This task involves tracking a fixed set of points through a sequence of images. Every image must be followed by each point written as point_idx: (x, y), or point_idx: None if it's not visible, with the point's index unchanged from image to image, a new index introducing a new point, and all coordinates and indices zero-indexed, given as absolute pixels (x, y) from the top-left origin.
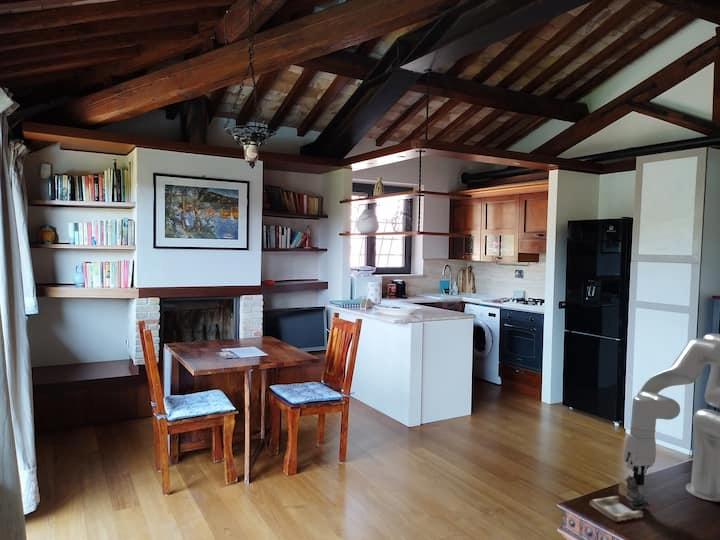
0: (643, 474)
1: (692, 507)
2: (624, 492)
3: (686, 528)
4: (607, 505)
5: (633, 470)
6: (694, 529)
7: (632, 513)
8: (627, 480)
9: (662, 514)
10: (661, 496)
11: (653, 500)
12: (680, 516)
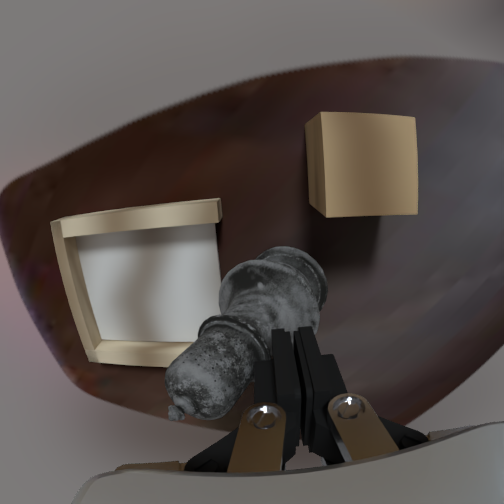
0: (309, 451)
1: (489, 314)
2: (312, 164)
3: None
4: (130, 244)
5: (228, 444)
6: None
7: None
8: (165, 384)
9: (344, 349)
10: (476, 216)
11: (420, 238)
12: (396, 366)
